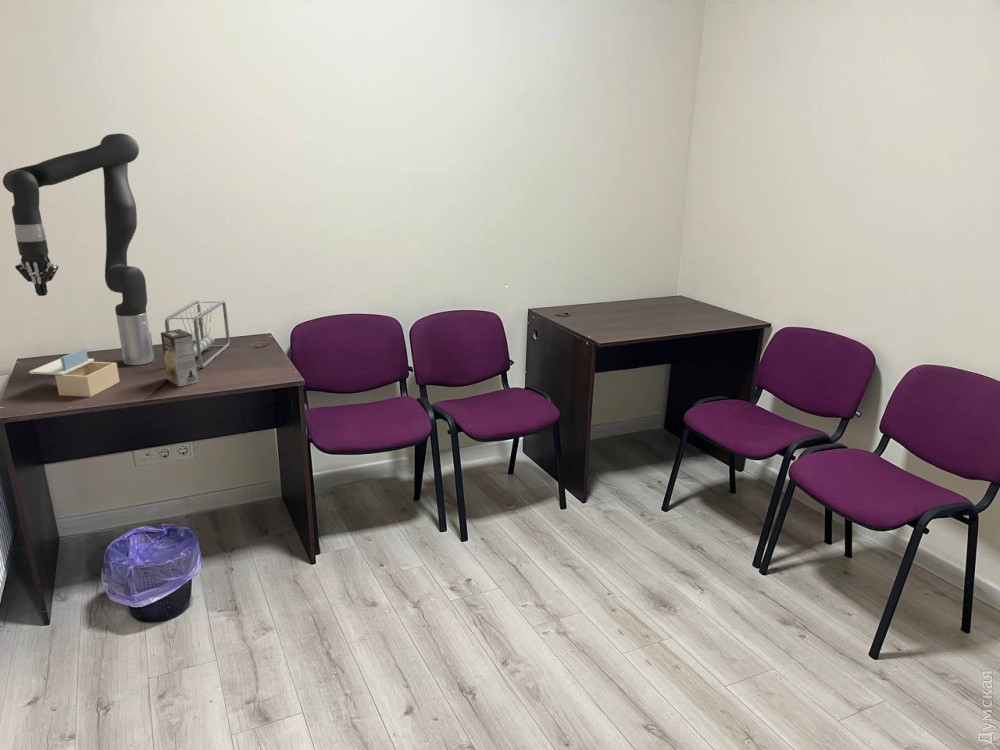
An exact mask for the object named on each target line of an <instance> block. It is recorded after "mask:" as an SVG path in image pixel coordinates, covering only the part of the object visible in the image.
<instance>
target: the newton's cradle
mask: <svg viewBox="0 0 1000 750" xmlns="http://www.w3.org/2000/svg"><path fill="white" fill-rule="evenodd" d="M202 303H203V304H205V303H208V304H209V303H210V305H208V306H206V307H205V306H204V307H201V304H202ZM211 303H212V304H211ZM220 306H222V311H223V321H224V327H225V329H224V330H225V337H226V338H225V339H226V343H225V344H224V345H223V344H222V345H221V344H219V345H217V344H214V343H215V337H214V335H212V334H210V333H211V328H209V329H208V330H209V331H208V332H207V327H206V326H207V323H208V318H206V320H205V321H206V322H205V321H204V316H207V315H208V314H209V313H212V312H213V311H214V310H216V309H217V308H219V307H220ZM203 308H205V309H203ZM191 310H193V311H194V312H193V311H192V312H191ZM227 310H228V309H227V305H226V301H225V300H220V301H201V300H194V301H191V303H189V304H187V305H186V306H184V307H182V308H180V309H178V310H177V311H175V312H173V313H172V314H170V315H167V317H166V318H165V320H164V329H165V332H167V331H171V329H170V320H182V323H183V325H184V326H183V327H184V328H185V332H188V331H187V327H186V325H185V322H184V320H187V323H188V326H189V328H190V333H191V334H192V338H193V347H194V355H195V358H196V357H197V361H198V365H196V368H201V369H204V368H205V367H207V366H208V365H209V364H210V363H212V361H214V360H215V359H216V358H217V357H219V355H221V354H222V353H223V352H224V351H226V349H228V348H229V347H230V342H231V339H230V329H229V323H228V322H229V320H228V312H227ZM187 313H188V314H189V315H190V316H191V317H188V314H187ZM193 314H194V315H193ZM183 315H185V316H186V317H182V316H183ZM209 317H210V318H209V322H211V320H212V318H211V317H212V314H210V316H209ZM189 320H192V323H193V329H194V332H193V331H192V328H191V325H190V321H189ZM204 330H205V332H204ZM199 332H200V334H199ZM228 346H229V347H228ZM209 347H221V348H220V349H219V350H218V351H217V352H216V353H214V354H213V355H212V356H210V357H209V358H208V359H207V360H206V361H205V362H203V358H202V352H203V351H205V350H206V349H207V348H209ZM227 347H228V348H227ZM222 351H223V352H222ZM221 352H222V353H221ZM220 353H221V354H220ZM215 357H216V358H215ZM214 358H215V359H214ZM213 359H214V360H213Z"/></svg>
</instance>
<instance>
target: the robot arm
mask: <svg viewBox="0 0 1000 750" xmlns="http://www.w3.org/2000/svg"><path fill="white" fill-rule="evenodd" d="M139 152H140V148H139V143H138V142H137V140H136V139H135V138H133V137H132V136H131V135H129V134H124V133H111V134H107V135H105V136H104V137H102V139H101V140H100V144H98V145H95V146H92V147H90V148H87V149H83V150H80V151H79V150H78V151H75V152H71V153H67V154H62V155H60V156H59V155H58V156H55V157H53V158H49V159H47V160H44V161H41V162H39V163H36V164H33V165H32V164H31V165H28V166H23V167H22V166H21V167H20V168H19V167H18V168H15V169H13V170H9V171H7V172H6V173H5V174H4V176H3V178H2V184H3V186H4V188H5V190H7V191H8V192H9V193H11V194H12V195H13V203H14V204H13V205H12V207H11V215H12V219H13V224H14V234H15V237H16V238H15V239H16V245H17V248H18V253H19V255H20V256H21V259H20V263H19V264H17V265H15V267H14V268H15V269H16V270H17V271H18V273H19V274H20V275H21V276H22V277H23V278H24V279H25V281H27V282H30V283H32V284H34V285H33V286H34V289H35V293H36V294H37V295H36V296H38V297H39V296H40V297H44V296H47V295H48V287H47V283H48V282H51V281H52V280H53V279H54V277H55V275H56V273H57V271H58V269H59V266H58V265H57V264H56V265H54V264H53V263H52V262H51V260H50V258H49V249H48V243H47V238H46V237H47V236H46V232H45V229H44V226H43V221H42V217H41V211H40V188H42V187H46V186H47V187H48V186H53V185H58V184H60V183H63V182H66V181H69V180H72V179H74V178H76V177H79V176H81V175H84V174H87V173H89V172H92V171H95V170H99V169H101V168H102V172H103V183H104V185H103V187H104V188H103V189H104V193H103V194H104V221H105V222H104V223H105V241H106V242H105V245H106V247H105V248H106V251H105V263H104V264H105V266H104V279H105V285H106V287H107V288H108V289H109V290H110V291H111V292H114V293H116V294H117V293H119V294H122V295H121V296H122V297H121V298H122V301H121V303H119V304H116V305H115V309H114V311H115V316H116V322H117V329H118V334H119V341H120V347H121V353H122V358H123V365H125V366H126V365H128V366H139V365H145V364H149V363H151V362H152V363H153V361H154V359H155V353H154V347H153V345H154V344H153V340H152V334H151V331H150V327H149V321H148V315H147V305H148V293H147V283H146V277H145V275H144V272H143V271H142V270H141V269H140V268H139V267H136V266H131V265H128V257H127V256H128V250H129V246H130V243H131V242H132V239H133V237H134V236H135V233H136V230H137V227H138V219H137V205H136V201H135V197H134V195H133V192H132V189H131V186H130V183H129V176H128V173H129V172H128V165H129V163H132V162H133V161H135V160H136V159H137V158H138V156H139Z"/></svg>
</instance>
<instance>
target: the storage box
mask: <svg viewBox="0 0 1000 750" xmlns="http://www.w3.org/2000/svg"><path fill="white" fill-rule="evenodd" d="M118 369H119V368H118V363H117V362H109V361H108V362H106V361H92V362H90V363H88V364H86V365H83V366H81V367H79V368H77V369H75V370H72V371H70V372H68V373H66V374H63V375H54V377H55V381H56V382H55V383H56V386H57V387H56V388H57V391H58V396H69V397H88V398H89V397H91V398H92V397H93V396H95V395H97V394H99V393H101V392H103V391H105V390H107V389H108V388H110V387H112V386H114V385H116V384H118V383H120V382H121V381H120V377H119V370H118Z"/></svg>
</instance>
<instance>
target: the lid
mask: <svg viewBox="0 0 1000 750" xmlns="http://www.w3.org/2000/svg"><path fill="white" fill-rule="evenodd" d="M90 362H95V359H94V358H89V357H88V352H87V348H83V347H82V348H80V349H78V350H76V351H73V352H70V353H69V354H66V355H64V356H61V357H60V358H58V359H55V360H54V361H51V362H48V363H46V364H44V365H41V366H39V367H36V368H34V369H31V370H29V371H28V373H29V374H33V375H37V374H38V375H54V376H55V375H63V374H66V373H68V372H70V371H72V370H75V369H77V368H79V367H81V366H83V365H86V364H88V363H90Z"/></svg>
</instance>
